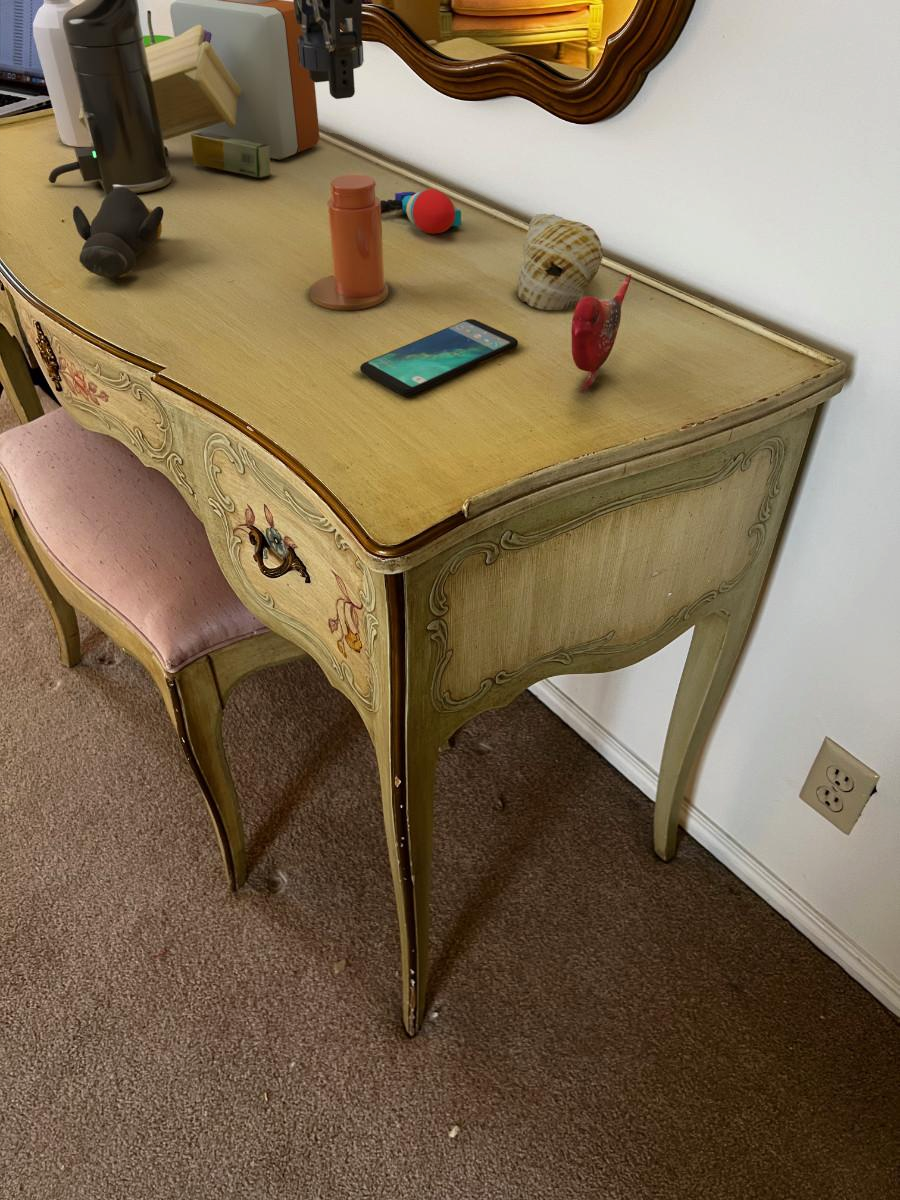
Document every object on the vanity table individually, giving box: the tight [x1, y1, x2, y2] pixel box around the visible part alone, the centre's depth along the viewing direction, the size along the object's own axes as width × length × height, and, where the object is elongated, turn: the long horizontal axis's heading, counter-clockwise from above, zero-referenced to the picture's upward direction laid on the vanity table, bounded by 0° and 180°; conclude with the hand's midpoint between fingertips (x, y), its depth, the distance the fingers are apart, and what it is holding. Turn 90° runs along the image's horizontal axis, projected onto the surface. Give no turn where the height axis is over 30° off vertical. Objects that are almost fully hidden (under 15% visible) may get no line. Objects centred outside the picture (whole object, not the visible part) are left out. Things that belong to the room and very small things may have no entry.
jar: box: [327, 173, 386, 298], centre depth 96 cm, size 5×5×11 cm
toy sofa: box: [79, 25, 241, 141], centre depth 129 cm, size 21×9×10 cm
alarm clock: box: [169, 0, 320, 160], centre depth 133 cm, size 18×9×21 cm, turn 58°
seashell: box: [516, 213, 604, 311], centre depth 99 cm, size 10×10×10 cm
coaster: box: [310, 274, 389, 311], centre depth 100 cm, size 8×8×1 cm
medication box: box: [190, 132, 272, 179], centre depth 129 cm, size 12×3×4 cm, turn 62°
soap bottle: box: [32, 0, 91, 148], centre depth 134 cm, size 9×9×24 cm
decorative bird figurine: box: [570, 274, 632, 394], centre depth 84 cm, size 3×18×10 cm, turn 156°
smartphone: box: [359, 318, 519, 397], centre depth 89 cm, size 7×1×15 cm
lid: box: [297, 30, 365, 72], centre depth 85 cm, size 6×6×2 cm
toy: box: [72, 187, 164, 279], centre depth 104 cm, size 10×7×15 cm
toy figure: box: [380, 188, 462, 235], centre depth 114 cm, size 8×5×15 cm
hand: (331, 88), depth 87 cm, fingers closed on lid, 5 cm apart
